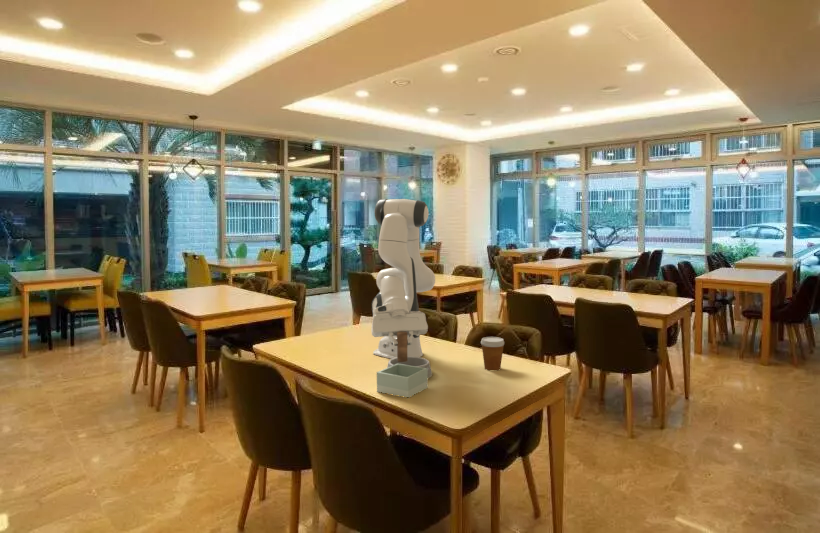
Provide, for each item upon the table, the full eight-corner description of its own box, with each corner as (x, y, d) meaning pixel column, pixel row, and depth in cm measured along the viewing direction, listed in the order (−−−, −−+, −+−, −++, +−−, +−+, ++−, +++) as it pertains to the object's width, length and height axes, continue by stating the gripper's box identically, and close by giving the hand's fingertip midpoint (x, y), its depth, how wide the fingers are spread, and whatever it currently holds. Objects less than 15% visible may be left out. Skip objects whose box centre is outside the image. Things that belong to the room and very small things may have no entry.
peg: (395, 361, 184) (395, 333, 184) (400, 358, 187) (400, 331, 187) (403, 362, 183) (403, 334, 182) (409, 360, 186) (409, 332, 185)
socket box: (376, 391, 184) (376, 372, 184) (397, 381, 195) (397, 363, 195) (408, 398, 177) (407, 378, 177) (427, 387, 188) (427, 368, 188)
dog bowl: (404, 365, 217) (404, 353, 217) (440, 373, 206) (440, 360, 205) (376, 375, 204) (376, 362, 204) (413, 384, 193) (413, 370, 192)
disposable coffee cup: (486, 373, 205) (486, 342, 204) (476, 366, 214) (476, 337, 213) (508, 370, 208) (508, 341, 206) (498, 364, 217) (498, 335, 216)
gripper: (422, 315, 197) (429, 347, 189) (368, 318, 193) (373, 351, 184) (425, 306, 192) (432, 338, 184) (370, 308, 188) (375, 341, 179)
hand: (402, 344), depth 184 cm, fingers closed on peg, 4 cm apart
